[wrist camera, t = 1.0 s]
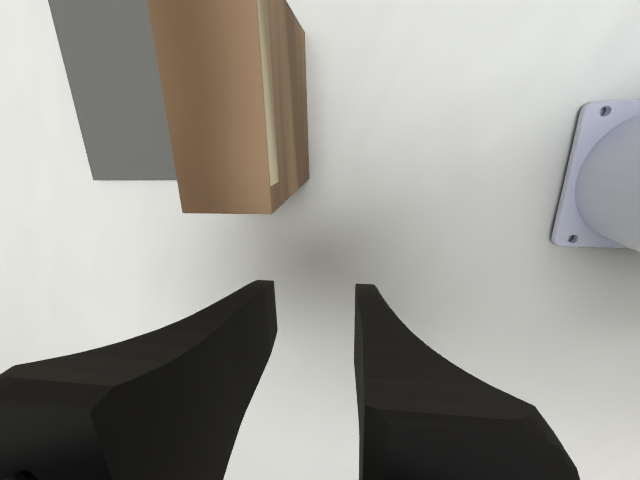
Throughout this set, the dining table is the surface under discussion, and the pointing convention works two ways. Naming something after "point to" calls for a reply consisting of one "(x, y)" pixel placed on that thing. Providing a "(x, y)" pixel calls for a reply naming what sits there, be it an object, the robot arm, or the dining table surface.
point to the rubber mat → (115, 87)
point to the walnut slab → (233, 101)
